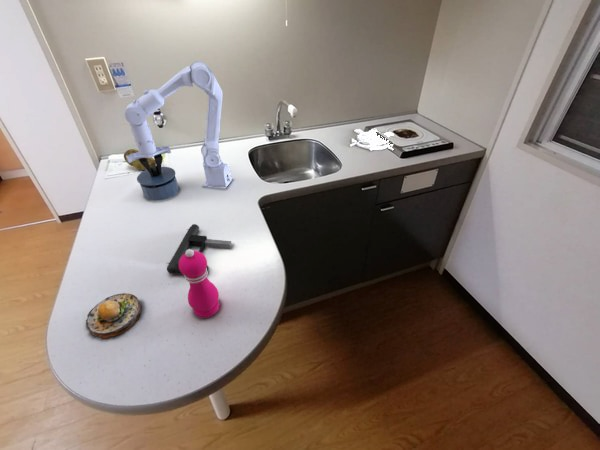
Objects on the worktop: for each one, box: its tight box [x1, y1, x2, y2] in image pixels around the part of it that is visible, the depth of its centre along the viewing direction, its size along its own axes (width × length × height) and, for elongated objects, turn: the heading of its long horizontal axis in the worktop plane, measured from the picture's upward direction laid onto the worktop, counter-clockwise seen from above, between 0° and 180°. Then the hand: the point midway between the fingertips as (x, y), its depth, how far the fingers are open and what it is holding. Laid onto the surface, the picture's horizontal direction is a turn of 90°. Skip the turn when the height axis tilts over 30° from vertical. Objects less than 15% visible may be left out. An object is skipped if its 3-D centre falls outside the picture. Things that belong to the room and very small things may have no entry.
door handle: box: [166, 223, 233, 275], centre depth 92 cm, size 3×20×16 cm
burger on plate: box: [85, 292, 143, 339], centre depth 73 cm, size 12×12×8 cm
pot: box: [139, 175, 180, 202], centre depth 118 cm, size 13×13×6 cm
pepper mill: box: [179, 248, 220, 319], centre depth 71 cm, size 7×7×20 cm
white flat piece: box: [349, 128, 395, 152], centre depth 159 cm, size 21×28×1 cm
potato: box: [123, 148, 157, 171], centre depth 134 cm, size 8×13×8 cm, turn 60°
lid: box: [136, 165, 176, 186], centre depth 114 cm, size 14×14×5 cm
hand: (155, 174), depth 115 cm, fingers closed on lid, 2 cm apart
